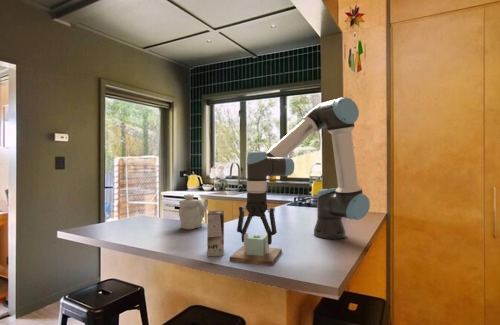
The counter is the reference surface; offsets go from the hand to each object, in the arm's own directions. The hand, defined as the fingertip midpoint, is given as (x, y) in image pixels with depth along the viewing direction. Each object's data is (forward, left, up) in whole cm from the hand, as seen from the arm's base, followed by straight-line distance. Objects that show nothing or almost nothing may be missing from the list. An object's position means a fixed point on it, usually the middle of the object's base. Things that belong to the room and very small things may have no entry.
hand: (256, 251), depth 114 cm
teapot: (+48, -41, -2) cm, 63 cm away
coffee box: (+17, 0, -2) cm, 17 cm away
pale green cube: (0, 0, 0) cm, 0 cm away
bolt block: (0, 0, -2) cm, 2 cm away
